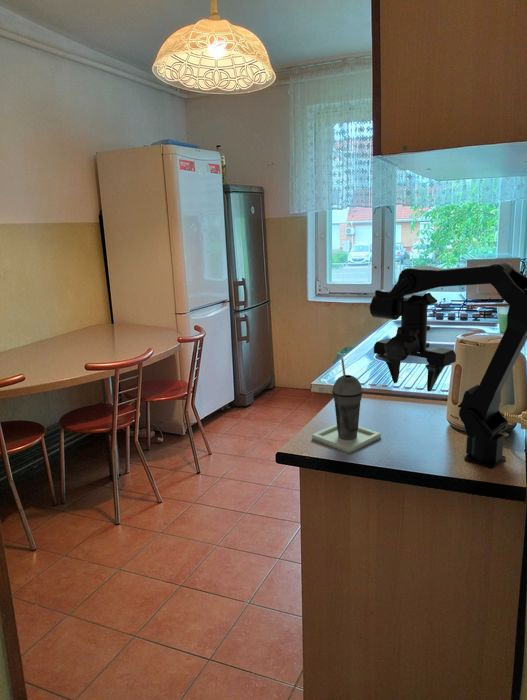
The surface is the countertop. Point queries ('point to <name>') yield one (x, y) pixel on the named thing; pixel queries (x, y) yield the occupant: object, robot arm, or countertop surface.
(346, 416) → the beverage cup
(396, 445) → the countertop surface
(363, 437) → the tray
